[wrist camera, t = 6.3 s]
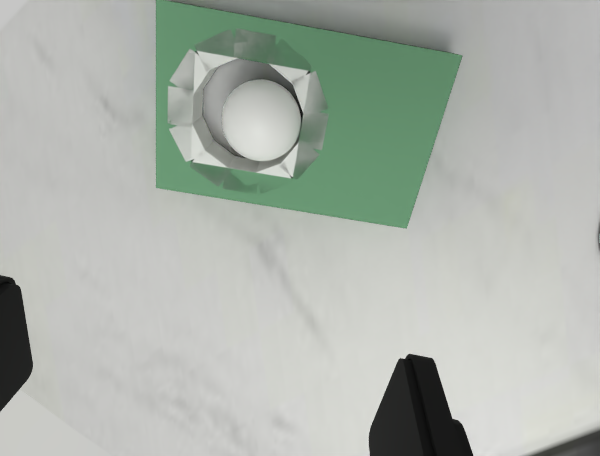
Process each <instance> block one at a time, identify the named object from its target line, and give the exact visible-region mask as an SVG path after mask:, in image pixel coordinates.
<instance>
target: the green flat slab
mask: <svg viewBox="0 0 600 456" xmlns="http://www.w3.org/2000/svg"><path fill="white" fill-rule="evenodd" d="M237 58H239V59H245V60H251V61H256V62H262V63H267V64H270V65H271V66H272V67H273V68H274V69H275V70H276V71H278V72H279V73H280V74H281V75H282V76H283V77H285V78H286V79H287V80H288V81H289V82H290V83H292V84H293V86H294V89H295V92H296V95H297V97H298V100H299V103H300V106H301V108H302V111H303V117H302V123H301V129H300V133H299V135H298V138H297V140H296V142H295V143H294V145H293V146H292V148H291V149H290V150H289V151H288V152H286V153H285V154H284V155H282V156H281V157H279V158H276V159H273V160H270V161H255V160H251V159H248V158H242V157H236V156H234V155H233V154H231V153H230V152H229V151H227V150H226V149H225V148H224V147H222V146H221V145H220V144H218V143H217V142H216V141H214V139H213V137H212V135H211V133H210V131H209V129H208V127H207V125H206V122H205V120H204V118H203V116H202V111H203V91H204V87H205V85H206V84H207V82H208V81H209V80H210V78H211V77H212V75H213V74H214V72H215V71H216V69H217V68H218V66H220V65H223V64H225V63H227V62H230V61H232V60H235V59H237ZM461 59H462V55H458V54H453V53H449V52H444V51H439V50H433V49H428V48H422V47H417V46H411V45H406V44H401V43H395V42H390V41H384V40H379V39H374V38H368V37H363V36H357V35H352V34H346V33H341V32H336V31H330V30H325V29H319V28H314V27H309V26H303V25H298V24H292V23H287V22H281V21H276V20H271V19H265V18H260V17H254V16H249V15H244V14H238V13H233V12H227V11H222V10H217V9H211V8H206V7H200V6H195V5H189V4H184V3H179V2H173V1H167V0H156V188H160V189H166V190H173V191H179V192H185V193H191V194H197V195H203V196H210V197H216V198H222V199H228V200H234V201H240V202H246V203H253V204H259V205H265V206H271V207H277V208H283V209H289V210H296V211H302V212H308V213H314V214H320V215H326V216H332V217H339V218H345V219H351V220H357V221H363V222H369V223H376V224H382V225H388V226H394V227H400V228H406V229H407V226H408V223H409V220H410V217H411V213H412V210H413V207H414V204H415V201H416V198H417V195H418V192H419V189H420V186H421V183H422V179H423V176H424V173H425V170H426V167H427V164H428V161H429V158H430V155H431V152H432V149H433V145H434V142H435V139H436V136H437V133H438V130H439V127H440V124H441V121H442V118H443V115H444V111H445V108H446V105H447V102H448V99H449V96H450V93H451V90H452V87H453V84H454V81H455V78H456V74H457V71H458V68H459V65H460V62H461Z"/></svg>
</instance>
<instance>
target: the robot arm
mask: <svg viewBox="0 0 600 456" xmlns="http://www.w3.org/2000/svg"><path fill="white" fill-rule="evenodd" d="M599 241H600V235H599ZM32 368H33V361H32V355H31V349H30V343H29V337H28V331H27V324H26V318H25V312H24V306H23V300H22V294H21V289H20V287H19V286H18V285H16V283H15V281H14V280H13V278H10V277H6V276H1V275H0V411H1V410H2V409H3V408H4V407H5V405H6V404H7V403H8V402H9V401H10V400H11V398H12V397H13V396H14V395H15V394H16V392H17V391H18V390H19V389H20V388H21V387H22V385H23V384H24V383H25V382H26V381H27V379H28V378H29V376H30V374H31V372H32ZM369 450H370V456H473V453H472V450H471V447H470V444H469V441H468V438H467V435H466V432H465V430H464V428H463V426H462V424H461V423H460V422H459V421H458V420H455V419H452V416H451V413H450V410H449V407H448V403H447V400H446V397H445V394H444V390H443V387H442V384H441V381H440V378H439V374H438V371H437V368H436V365H435V362H434V360H433V359H432V358H428V357H423V356H418V355H413V354H408V355H407V357H406V358H405V359H401V358H400V359H399V360H398V362H397V364H396V367H395V369H394V372H393V374H392V377H391V379H390V382H389V384H388V386H387V389H386V391H385V394H384V396H383V399H382V401H381V403H380V406H379V408H378V411H377V413H376V416H375V418H374V420H373V423H372V425H371V428H370V432H369Z"/></svg>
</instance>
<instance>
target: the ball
mask: <svg viewBox="0 0 600 456" xmlns="http://www.w3.org/2000/svg"><path fill="white" fill-rule="evenodd" d="M300 128H301V116H300V110H299V107H298V105H297V102H296V101H295V99H294V97H293V96H292V95H291V93H290V92H289V91H288V90H287V89H285V88H284V87H283V86H281V85H280V84H278V83H276V82H273V81H270V80H263V79H258V80H251V81H248V82H245V83H243V84H241V85H239V86H238V87H237V88H235V89H234V90H233V91H232V92H231V94H230V95H229V96H228V98H227V100H226V101H225V104H224V106H223V110H222V129H223V132H224V135H225V137H226V139H227V141H228V143H229V144H230V145H231V147H232V148H233V149H234V150H235V151H236V152H237V153H239V154H240V155H242V156H244V157H246V158H248V159H251V160H255V161H270V160H273V159H276V158H279V157H281V156H282V155H284V154H285V153H286V152H288V151H289V150H290V149H291V148H292V146H293V145H294V143H295V142H296V140H297V138H298V135H299V132H300Z"/></svg>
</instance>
